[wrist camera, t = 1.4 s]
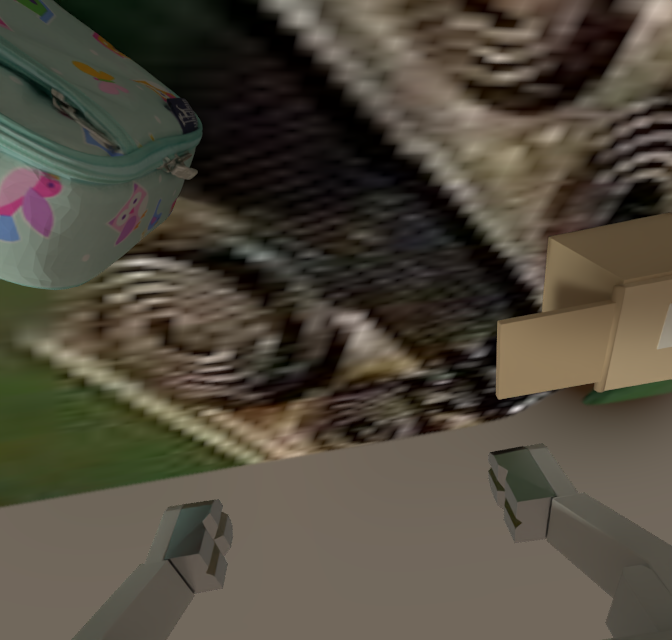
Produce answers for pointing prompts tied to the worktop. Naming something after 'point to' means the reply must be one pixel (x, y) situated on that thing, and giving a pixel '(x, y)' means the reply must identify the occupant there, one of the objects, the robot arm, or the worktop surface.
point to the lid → (590, 343)
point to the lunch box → (81, 148)
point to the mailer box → (605, 260)
